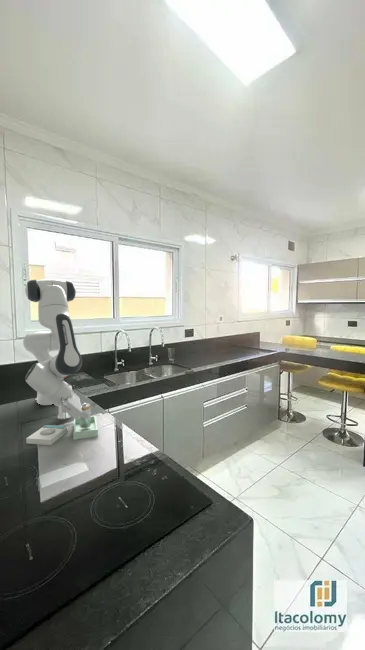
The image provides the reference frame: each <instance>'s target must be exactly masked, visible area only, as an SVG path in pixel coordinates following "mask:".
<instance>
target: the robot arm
mask: <svg viewBox="0 0 365 650" xmlns="http://www.w3.org/2000/svg"><path fill="white" fill-rule="evenodd" d="M24 293H25V295H26V297H27V299H28V301H30V302H33V303H37V304H38V305H37V307H38V308H37V309H38V322H39V324H40V325H41V326H43V327H44V328H45V329H49V330H50V331H34V332H30V333H26V335H25V336H24V337H23V341H22V343H23V346H24V349H25V350H26V351H27V352H29V353H31V355H33V356H34V357H35V358H36V360H37V362H36V363H34V364H32V366H31V367H30V368H29V369H28V371H27V372H26V374H25V377H24V379H25V382H26V383H27V385H29V387H31V388H32V389H33V390H34V391H36V397H35V400H37V401H36V404H37V403H38V405H39V404H40V406H55V407H58V406H59V405H61V406H62V408H63V410H64V411H65V412H67V413H68V414H69V415H70V416H71V418H73V420H74V419H78V418H80V417H83V418H84V419H87V418H88V417H89V416H88V414H87V413H85V412H83V411H82V407H81V404H82V403H81V399H80V397H79V396H78V395H77V394H76V392H75V391H73V387H72V388H70V386H69V385H70V384H69V385H67V384H68V383H67V382H66V381H65V379H66V378H67V377H68V376H70V375H74V374H76V373H78V372H79V371H80V370H81V368H82V366H83V358H82V354H81V352H80V351H79V349H78V347H77V344H76V343H77V342H76V336H75V332H74V327H73V323H72V320H71V318H70V313H69V312H70V311H69V302H72V301H73V300H74V299H75V298H76V294H77V288H76V286H75V283H74V282H73V281H71V280H66V279H65V280H63V279H53V278H52V279H30V280H29V281H27V284H26V285H25V288H24ZM50 352H57V354H56V355H54V356H53V355H51V354H50ZM74 392H75V393H74ZM52 404H54V405H52Z"/></svg>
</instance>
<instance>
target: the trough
mask: <svg viewBox="0 0 365 650" xmlns="http://www.w3.org/2000/svg"><path fill="white" fill-rule="evenodd" d="M98 432H99V431H98V424H97V416H96V415H91V426H90V427H88V428H81V427H80V417H79V418H78V419H74V418H73V433H72V435H73V440H74V441H75V440H79V439H80V440H81V439H89V438H95V437H99V434H98Z"/></svg>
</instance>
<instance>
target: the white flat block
mask: <svg viewBox="0 0 365 650" xmlns="http://www.w3.org/2000/svg"><path fill="white" fill-rule="evenodd" d="M67 432H68V426H66V425H55V424H54V425H53V424H44V425H43V426H42V427H41V428H39V429H38V430H36V431H35V432H33V433H32V434H31V435H29V436H28V437H26V438H25V439H26V440H25V441H26V442H25V443H26V444H29V445H45V446H46V445H47V446H52V445H53V444H54V443H56V442H57V441H58V440H59V439H60V438H61V437H62V436H64V435H65V434H66V433H67Z"/></svg>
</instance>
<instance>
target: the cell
mask: <svg viewBox="0 0 365 650" xmlns="http://www.w3.org/2000/svg"><path fill="white" fill-rule="evenodd" d="M91 405H92V404H90V403H87V402H83V403H81V407H82V411H83V412H85V413H87V414H88V416H89V417H88V418H87V419H84V418H83V417H79V418H80V427H81V428H88V427H90V426H91V416H92V415H91V414H92V412H91V407H92V406H91Z"/></svg>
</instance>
